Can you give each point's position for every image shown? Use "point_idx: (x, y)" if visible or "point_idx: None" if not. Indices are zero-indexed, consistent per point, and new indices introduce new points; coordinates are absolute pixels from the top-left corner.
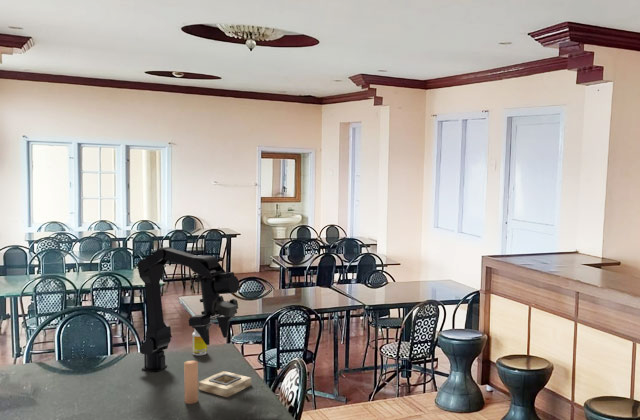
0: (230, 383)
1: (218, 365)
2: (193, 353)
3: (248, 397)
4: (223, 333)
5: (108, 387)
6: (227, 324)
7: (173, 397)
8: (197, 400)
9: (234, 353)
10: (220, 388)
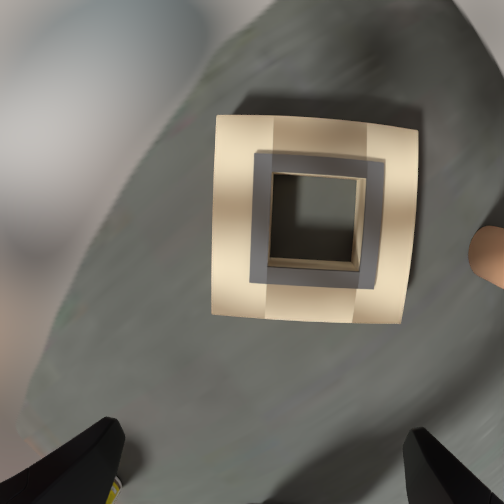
0: (350, 159)
1: (125, 395)
2: (121, 488)
3: (352, 55)
4: (109, 466)
5: None
6: (24, 501)
7: (478, 333)
8: (486, 227)
9: (31, 392)
10: (416, 174)
